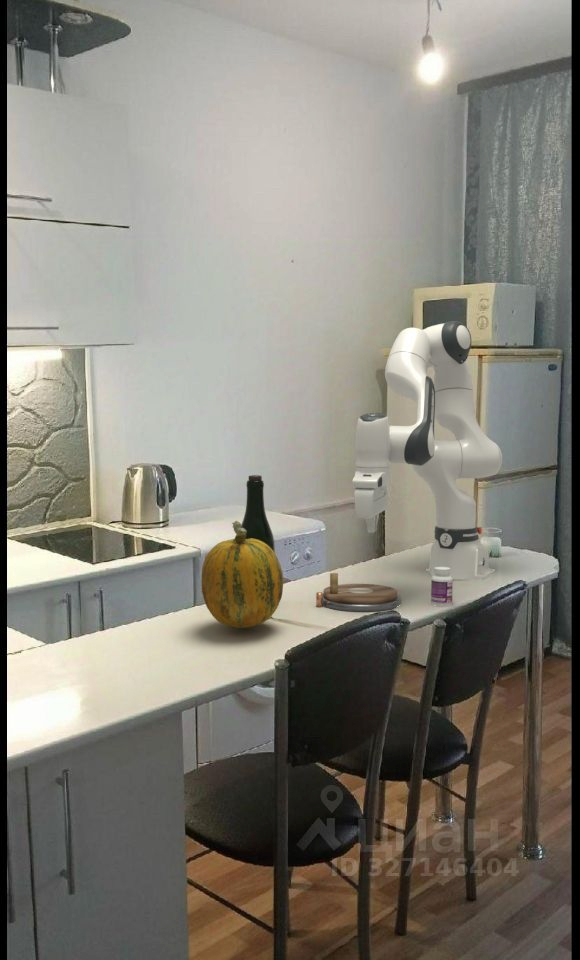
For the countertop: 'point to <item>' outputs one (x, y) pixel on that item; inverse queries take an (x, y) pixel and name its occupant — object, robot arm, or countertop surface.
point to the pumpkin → (241, 581)
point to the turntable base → (356, 608)
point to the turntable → (358, 593)
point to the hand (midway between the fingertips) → (372, 532)
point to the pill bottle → (441, 587)
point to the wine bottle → (257, 513)
